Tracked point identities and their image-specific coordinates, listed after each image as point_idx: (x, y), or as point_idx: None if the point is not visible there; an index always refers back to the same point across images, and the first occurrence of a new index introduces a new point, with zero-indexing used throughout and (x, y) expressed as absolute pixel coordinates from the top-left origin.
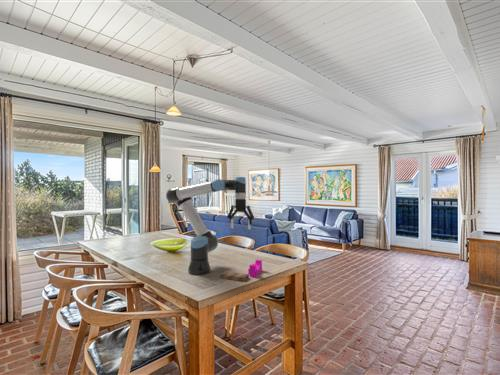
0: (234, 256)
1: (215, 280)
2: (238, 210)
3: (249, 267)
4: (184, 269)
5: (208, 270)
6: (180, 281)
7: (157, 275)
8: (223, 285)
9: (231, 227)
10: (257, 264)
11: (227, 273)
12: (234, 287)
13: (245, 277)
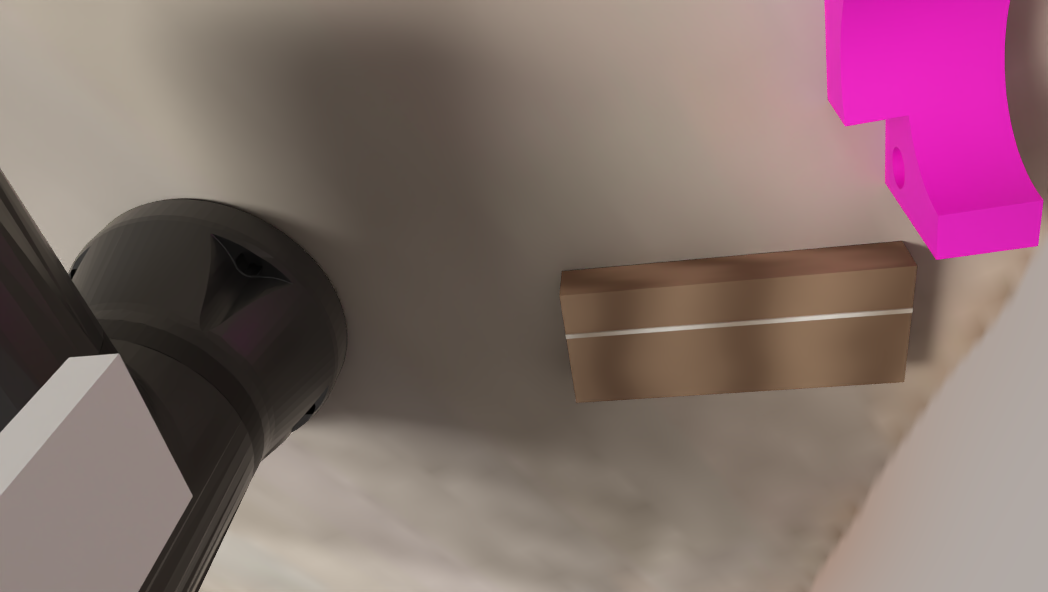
0: None
1: (581, 442)
2: None
3: (926, 242)
4: None
5: (335, 327)
6: (331, 564)
7: None
8: (733, 500)
9: (161, 528)
10: None
11: (637, 352)
12: (858, 498)
13: (904, 345)
